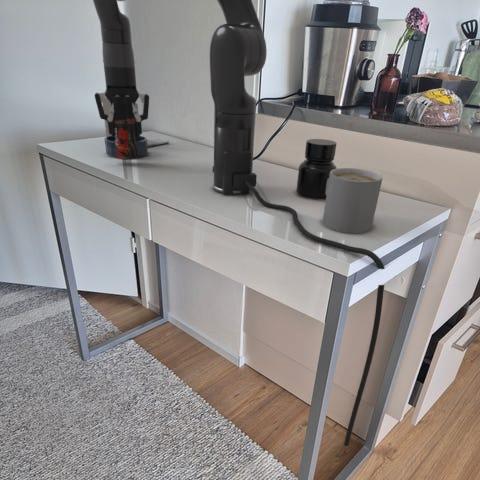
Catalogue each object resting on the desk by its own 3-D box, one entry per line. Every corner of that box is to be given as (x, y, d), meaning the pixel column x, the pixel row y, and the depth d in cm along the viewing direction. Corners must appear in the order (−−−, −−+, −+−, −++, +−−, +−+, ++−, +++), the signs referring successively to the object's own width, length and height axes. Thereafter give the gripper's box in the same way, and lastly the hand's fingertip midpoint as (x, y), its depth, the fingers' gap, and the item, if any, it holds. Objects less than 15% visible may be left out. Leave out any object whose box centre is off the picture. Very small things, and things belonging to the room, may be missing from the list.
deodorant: (143, 156, 121) (138, 96, 113) (128, 159, 117) (122, 97, 109) (127, 152, 124) (122, 93, 115) (112, 156, 119) (105, 95, 111)
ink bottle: (336, 201, 101) (345, 147, 94) (298, 200, 101) (305, 145, 94) (328, 189, 109) (336, 138, 103) (293, 187, 109) (299, 136, 102)
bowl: (149, 158, 127) (148, 142, 125) (106, 159, 125) (104, 142, 122) (146, 149, 137) (145, 134, 135) (106, 149, 135) (104, 134, 132)
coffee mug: (351, 237, 83) (361, 184, 77) (312, 221, 89) (319, 171, 84) (391, 223, 90) (403, 174, 85) (352, 209, 97) (361, 163, 91)
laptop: (170, 143, 146) (168, 100, 139) (140, 148, 138) (136, 103, 130) (136, 135, 155) (132, 94, 148) (106, 139, 147) (101, 96, 140)
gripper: (88, 64, 104) (97, 139, 113) (149, 66, 107) (154, 139, 116) (89, 62, 110) (98, 133, 119) (147, 64, 113) (152, 133, 122)
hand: (126, 136), depth 117 cm, fingers closed on deodorant, 6 cm apart
